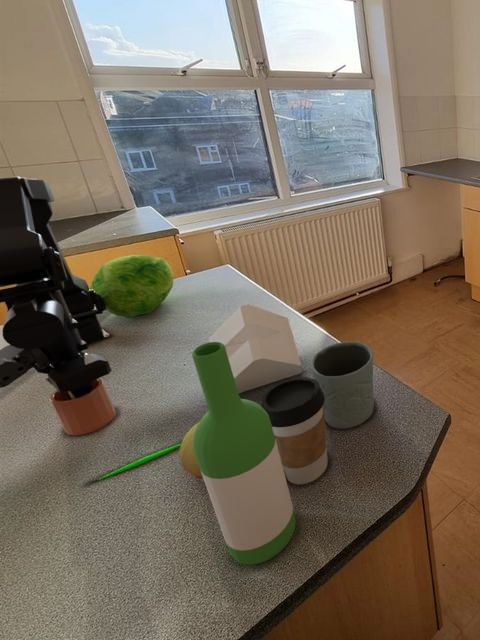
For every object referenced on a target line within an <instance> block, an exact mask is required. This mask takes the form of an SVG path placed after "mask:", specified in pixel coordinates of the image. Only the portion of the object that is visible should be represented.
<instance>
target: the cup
mask: <svg viewBox="0 0 480 640" xmlns="http://www.w3.org/2000/svg"><path fill="white" fill-rule="evenodd" d="M104 382H105V381H104V380H103V379H102V378H101V377H100V378H98V379H96V380H94V381H93V385H92V389H91V392H90V393H88V394H86V395H83V396H81V397H79V398H76V399H71V396H70V394H69V392H63V393H60V392H59V391H58V390H57V389H55V390H54V392H53V393H51V394H50V397H49V403H50V404H51V406H52V408H53V410H54V412H55V414H56V416H57V418H58V420H59V423H60V424H61V426H62V428H63V430H64V431H65V433H66V434H67V435H68V436H82V435H86V434H90V433H92V432H95V431H96V430H99V429H101V428H103V427H105V426H106V425H108V424H109V423H111V422H112V420H113V419H115V416H116V408H115V405H114V403H113V401H112V399H111V397H110V394H109V392H108V390H107V387H106V385H105V383H104Z"/></svg>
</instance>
